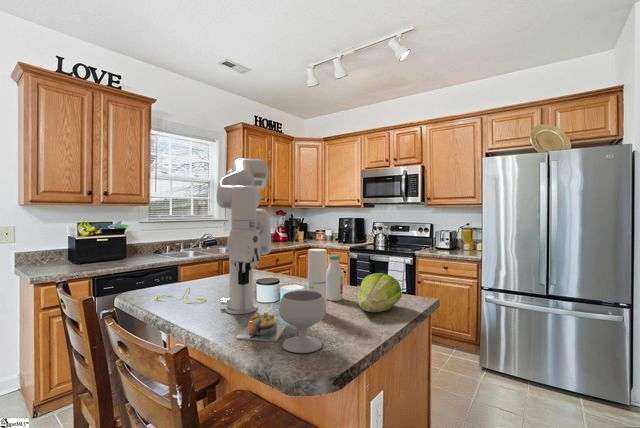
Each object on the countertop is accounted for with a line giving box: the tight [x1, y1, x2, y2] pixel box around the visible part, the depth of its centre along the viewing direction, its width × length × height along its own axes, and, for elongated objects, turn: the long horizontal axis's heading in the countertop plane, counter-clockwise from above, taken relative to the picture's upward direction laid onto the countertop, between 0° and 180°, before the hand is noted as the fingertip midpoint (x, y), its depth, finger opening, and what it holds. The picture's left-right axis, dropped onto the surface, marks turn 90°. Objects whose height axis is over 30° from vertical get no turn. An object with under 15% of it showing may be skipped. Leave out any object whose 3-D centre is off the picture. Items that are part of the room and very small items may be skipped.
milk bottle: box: [326, 254, 344, 302], centre depth 148 cm, size 8×8×20 cm
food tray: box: [247, 312, 275, 336], centre depth 103 cm, size 14×8×4 cm, turn 168°
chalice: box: [278, 290, 327, 354], centre depth 96 cm, size 14×14×15 cm
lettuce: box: [357, 272, 402, 313], centre depth 130 cm, size 17×24×14 cm
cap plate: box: [235, 322, 287, 343], centre depth 106 cm, size 13×13×2 cm
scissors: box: [154, 287, 208, 304], centre depth 146 cm, size 25×10×5 cm, turn 76°
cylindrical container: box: [307, 248, 328, 305], centre depth 127 cm, size 7×7×25 cm
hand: (243, 283), depth 101 cm, fingers closed
